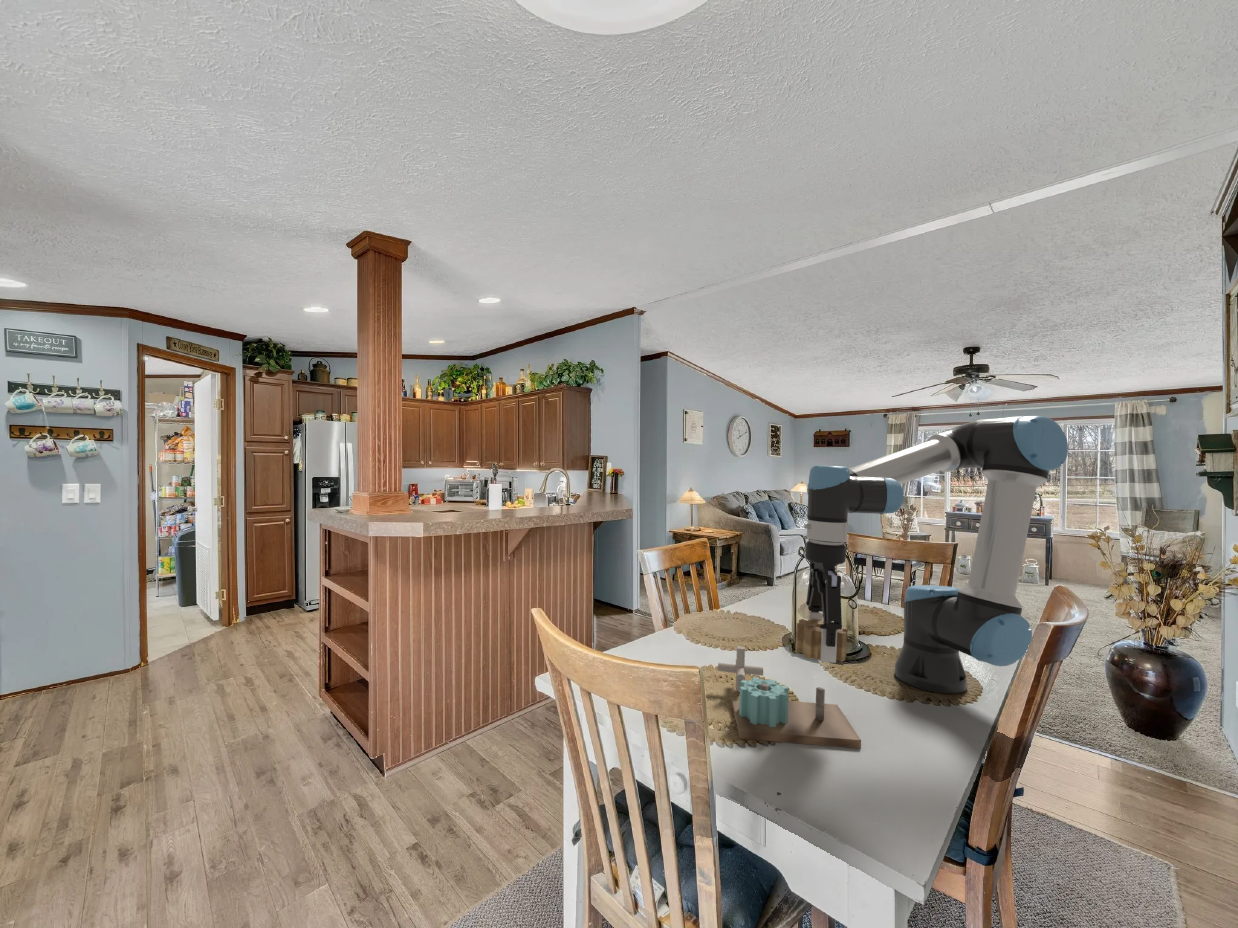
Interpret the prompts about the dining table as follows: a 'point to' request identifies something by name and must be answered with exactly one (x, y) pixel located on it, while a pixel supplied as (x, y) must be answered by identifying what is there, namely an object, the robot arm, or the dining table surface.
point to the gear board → (802, 724)
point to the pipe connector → (740, 667)
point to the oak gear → (817, 639)
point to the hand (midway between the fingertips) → (821, 651)
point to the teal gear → (763, 702)
